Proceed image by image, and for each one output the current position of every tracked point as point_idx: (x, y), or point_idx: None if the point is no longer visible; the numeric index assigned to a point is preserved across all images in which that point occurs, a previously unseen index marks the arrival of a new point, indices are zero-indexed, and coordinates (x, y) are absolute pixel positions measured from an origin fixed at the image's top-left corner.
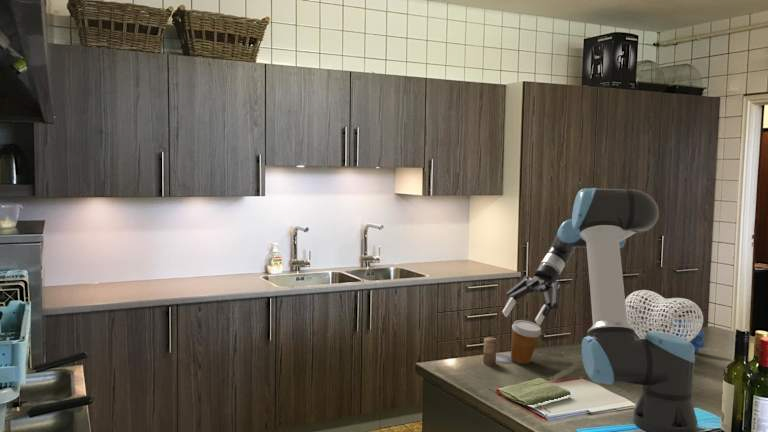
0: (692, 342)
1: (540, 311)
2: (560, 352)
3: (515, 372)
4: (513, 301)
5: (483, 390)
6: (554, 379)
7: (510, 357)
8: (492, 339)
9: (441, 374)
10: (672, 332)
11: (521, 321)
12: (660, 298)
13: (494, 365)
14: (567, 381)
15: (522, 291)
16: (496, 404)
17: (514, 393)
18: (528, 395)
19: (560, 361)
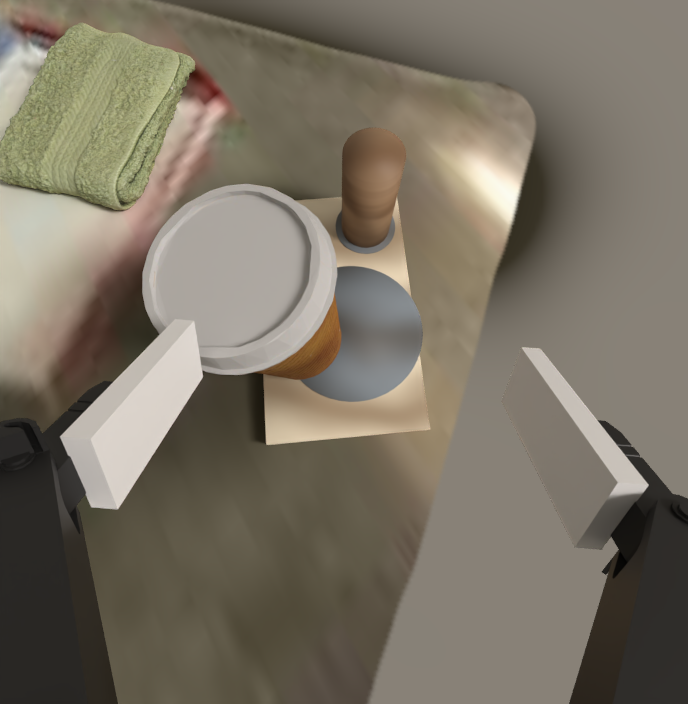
0: None
1: (140, 371)
2: (272, 684)
3: None
4: (579, 493)
5: (245, 65)
6: (122, 298)
7: (357, 350)
8: (363, 155)
9: (419, 79)
10: None
11: (302, 301)
12: None
13: (337, 221)
14: (75, 314)
15: (614, 660)
16: (162, 16)
17: (127, 42)
18: (85, 54)
19: (202, 530)
